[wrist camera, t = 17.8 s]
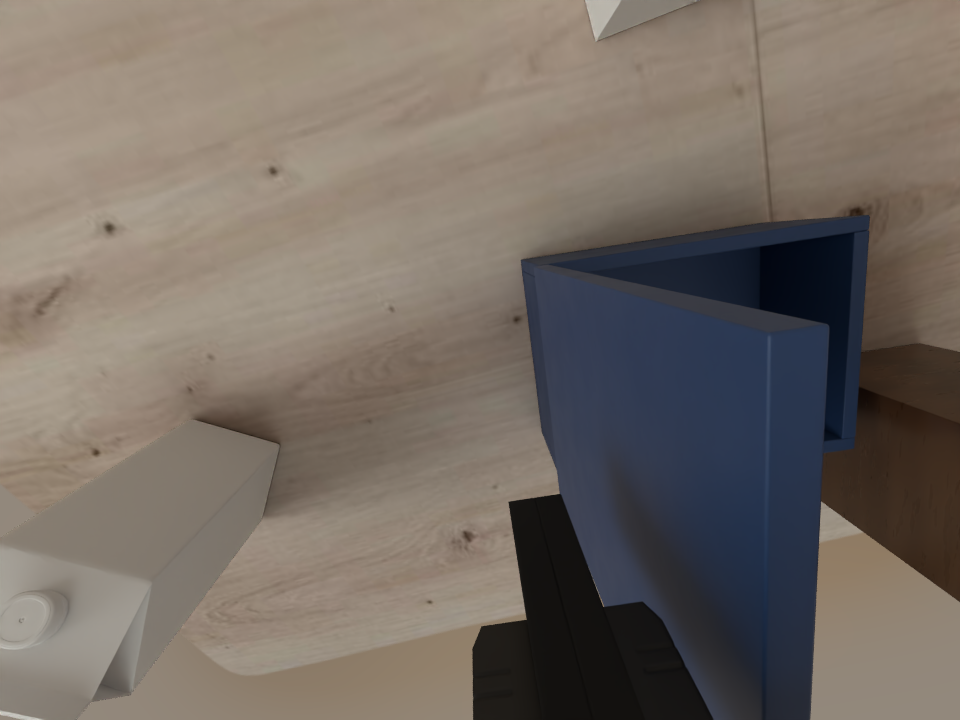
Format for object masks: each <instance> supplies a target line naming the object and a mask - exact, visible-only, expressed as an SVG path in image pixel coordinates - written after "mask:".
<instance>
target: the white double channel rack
mask: <svg viewBox="0 0 960 720" xmlns="http://www.w3.org/2000/svg"><path fill="white" fill-rule="evenodd" d="M697 1H699V0H585V2H586V6H587V10H588V14H589V18H590V22H591V26H592V30H593V33H594V37H595V41H598V40H601V39H603V38H606V37H608V36H611V35H613V34H616V33H619V32H621V31H624V30H626V29H629V28H631V27H634V26H636V25H639V24H641V23H644V22H646V21H649V20H651V19H654V18H656V17H659V16H661V15H664V14H667V13H669V12H672V11H674V10H677V9H679V8H682V7H684V6H687V5H689V4H692V3H694V2H697Z"/></svg>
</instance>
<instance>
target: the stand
mask: <svg viewBox="0 0 960 720" xmlns="http://www.w3.org/2000/svg"><path fill="white" fill-rule="evenodd" d="M821 501H822V502H823V503H824V504H826V505H827V506H828V507H830V508H831V509H833V510H834V511H835V512H837V513H838V514H839V515H841V516H842V517H844V518H845V519H846V520H848V521H849V522H850V523H852V524H853V525H855V526H856V527H857V528H859V529H860V530H861V531H863V532H864V533H866V534H867V535H868V536H870V537H871V538H872V539H874V540H875V541H877V542H878V543H879V544H881V545H882V546H883V547H885V548H886V549H888V550H889V551H890V552H892V553H893V554H894V555H896V556H897V557H899V558H900V559H901V560H903V561H904V562H905V563H907V564H908V565H910V566H911V567H913V568H914V569H915V570H916V571H918V572H919V573H921V574H922V575H924V576H925V577H926V578H927V579H929V580H930V581H932V582H933V583H934V584H936V585H937V586H938V587H940V588H941V589H943V590H944V591H946V592H947V593H948V594H950V595H951V596H952V597H954V598H955V599H956V600H958V601H959V602H960V352H958V351H953V350H948V349H944V348H939V347H935V346H930V345H926V344H921V343H918V344H912V345H905V346H898V347H891V348H885V349H878V350H871V351H865V352H861V360H860V375H859V389H858V404H857V419H856V434H855V444H854V449H849V450H842V451H835V452H828V453H823V469H822V490H821Z"/></svg>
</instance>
